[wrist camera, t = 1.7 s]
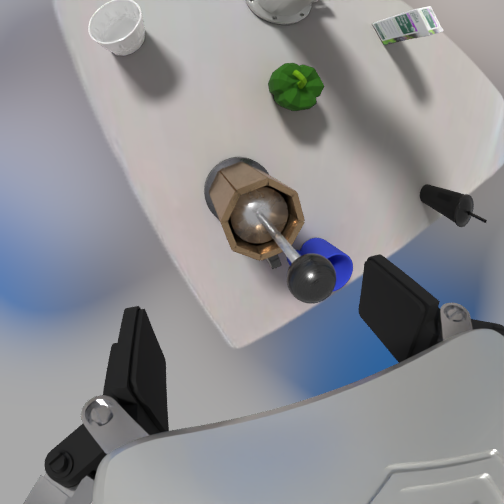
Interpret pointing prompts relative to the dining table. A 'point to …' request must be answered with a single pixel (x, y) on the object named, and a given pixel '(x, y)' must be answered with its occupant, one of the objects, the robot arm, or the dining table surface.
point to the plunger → (282, 243)
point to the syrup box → (408, 25)
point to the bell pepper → (295, 86)
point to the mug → (333, 254)
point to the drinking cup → (449, 204)
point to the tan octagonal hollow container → (240, 182)
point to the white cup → (118, 27)
